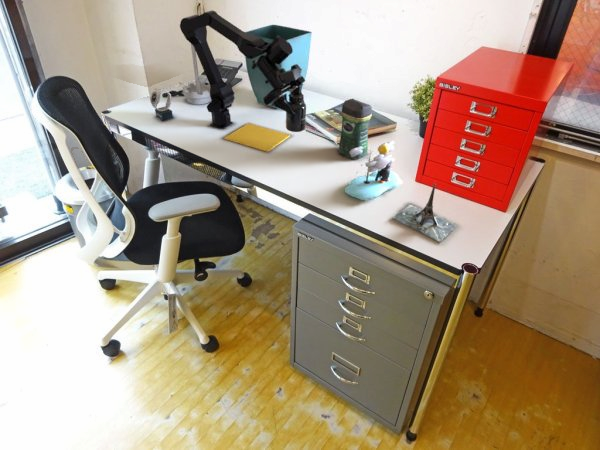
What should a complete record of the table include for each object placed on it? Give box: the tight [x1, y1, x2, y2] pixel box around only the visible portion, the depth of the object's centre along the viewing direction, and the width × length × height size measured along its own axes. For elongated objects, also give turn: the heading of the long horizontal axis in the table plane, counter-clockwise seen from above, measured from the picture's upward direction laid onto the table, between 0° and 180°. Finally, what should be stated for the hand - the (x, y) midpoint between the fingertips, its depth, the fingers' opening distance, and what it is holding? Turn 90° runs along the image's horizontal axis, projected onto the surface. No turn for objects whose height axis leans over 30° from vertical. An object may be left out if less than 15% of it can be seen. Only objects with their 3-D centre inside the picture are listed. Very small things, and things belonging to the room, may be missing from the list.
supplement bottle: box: [285, 93, 307, 133], centre depth 150 cm, size 7×7×12 cm
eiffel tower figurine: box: [392, 181, 458, 243], centre depth 117 cm, size 15×10×13 cm
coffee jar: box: [338, 98, 373, 160], centre depth 147 cm, size 10×8×19 cm
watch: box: [149, 88, 174, 122], centre depth 170 cm, size 6×8×11 cm
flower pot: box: [244, 24, 313, 110], centre depth 180 cm, size 20×20×28 cm
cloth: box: [224, 122, 291, 153], centre depth 161 cm, size 19×15×1 cm
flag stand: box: [181, 43, 212, 105], centre depth 180 cm, size 13×13×30 cm
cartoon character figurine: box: [344, 140, 403, 201], centre depth 130 cm, size 20×11×15 cm, turn 126°
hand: (299, 111), depth 149 cm, fingers closed on supplement bottle, 7 cm apart
